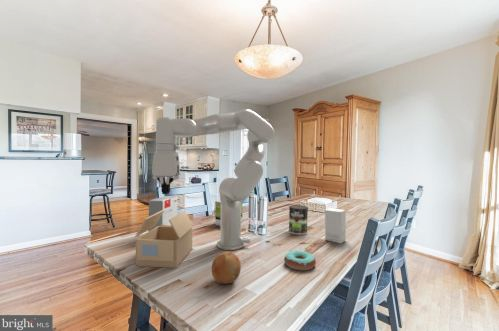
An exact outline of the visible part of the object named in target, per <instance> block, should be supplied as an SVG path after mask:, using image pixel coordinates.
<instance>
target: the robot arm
mask: <svg viewBox="0 0 499 331" xmlns="http://www.w3.org/2000/svg"><path fill="white" fill-rule="evenodd" d="M155 126H156V127H155V128H156V130H155V131H156V133H155V136H156V137H155V142H156V143H155V151H154V153H153V157H152V158H153V159H152V168H151V174H152V179H153V180H157V181H158V182H159V184H160V185H161V188H160V189H161V194H162V195H169V194H170V192H171V184H172V183H173V182H174V181H177V180H179V179H180V174H181V165H180V157H179V152H178V151H177V150H179V149H180V146H179V145H177V144H176V143H177V138H180V139H186V138H192V137H200V136H205V135H206V136H207V135H216V134H222V133H223V134H224V133H229V132H237V131H241V130H248V131H247V134H246V135H247V137H246V138H247V141H248V148H247V150H246V152H245V153H244V155H243V156H242V157H241V159H240V160H239V162H237V164H236V166H235V167H234V175H235V176H236V177H237V178H234V177H226V178H224V179H222V180H221V182H220V184H219V186H218V192H219V194H218V195H219V200H220V203H221V215H220V226H219V228H220V232H219V233H220V235H219V238H220V239H219V241H217V242H216V247H217V248H219V249H221V250H224V251H234V250H236V251H237V250H240V249H242V248H243V247H244V246H245V244H251V238H249V237H244V236H243V234H242V233H241V231H242V229H241V228H242V226H241V225H242V222H241V202H240V201H242V202H244V201H245V200H247V199H248V197H250V195H251V194H252V193H253V191H254V189H255V188H256V186H257V185H258V184H259V182H260V181H261V179H262V177H263V174H264V168H263V165H262V164H261V163H262V160H263V159H264V157H265V154H266V152H265V151H266V150H265V144H266V143H270V142H272V141H273V140H274V138H275V136H276V135H275V129H274V128H273V126H272V125H271V124H270V123H269V122H268V121H266V120H265V119H264V118H262V117H261V116H260V115H259V114H258V113H257V112H255V111H253V110H251V109H250V108H249V109H247V108H245V109H241V110H239V111H231V112H225V113H216V114H215V113H214V114H211V115H208V116H207V115H206V116H205V117H201V118H195V119H191V118H188V117H187V118H185V117H184V118H172V117H168V116H166V117H165V116H164V117H163V116H160V117H158V118H157V119H156V125H155Z"/></svg>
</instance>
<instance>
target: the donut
mask: <svg viewBox="0 0 499 331" xmlns="http://www.w3.org/2000/svg"><path fill="white" fill-rule="evenodd" d="M283 260H284V262H285V263H284V264H285V265H286V266H287V267H289V268H290V269H293V270H297V271H309V270H312V269H313V268H314V267H315V266H316V263H317V262H316V258H315V256H314V255H313V254H311V253H310V252H307V251H303V250H291V251H288V252H287V253H286V254H285V255H284V259H283Z"/></svg>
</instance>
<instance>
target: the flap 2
mask: <svg viewBox="0 0 499 331" xmlns="http://www.w3.org/2000/svg"><path fill="white" fill-rule="evenodd" d="M169 222H170V224H171V225H172V227H173V229H174V231H175V233H176V234H177V236H178V238H179V239H180V238H181V237H182V236H183V235H184V234H185V233H187V232H188V231H189V230H190V229H191V228H192V229H193V228H194V224H193V223H192V221H191V218H190V217H189V214H188V213H187V212H186V210H182V211H181V212H180V213H177V215H176V216H175V217H173V218H171V219H170V220H169Z"/></svg>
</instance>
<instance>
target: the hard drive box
mask: <svg viewBox="0 0 499 331" xmlns="http://www.w3.org/2000/svg"><path fill="white" fill-rule="evenodd" d="M178 198H179V197H178V196H173V195H172V196H168V195H165V196H160V197H158V198H153V199H150V200H149V201H148V217H150V216H152V215H154V214H156V213H158V212H160V211H162V210H164V212H163V214H162V215H161V217H160V219H159V221H158V222H157V224H156V226H154V227H152V228H151V229H149V230H147V232H149V231H150V230H152V229H154V228H155V227H157V226H160V225H171V224H170V222H169V220H170V219H171V218H173V217H175V216H176V215H178V206H179V205H178V202H179V201H178Z"/></svg>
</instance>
